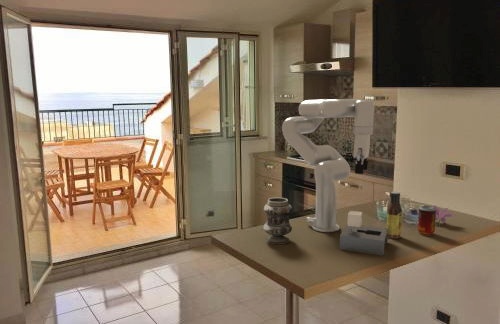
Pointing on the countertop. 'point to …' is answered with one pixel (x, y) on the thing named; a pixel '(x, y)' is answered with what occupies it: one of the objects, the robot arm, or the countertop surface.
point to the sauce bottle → (394, 216)
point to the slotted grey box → (364, 239)
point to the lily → (442, 214)
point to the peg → (354, 220)
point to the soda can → (426, 220)
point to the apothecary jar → (277, 220)
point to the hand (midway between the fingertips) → (361, 171)
